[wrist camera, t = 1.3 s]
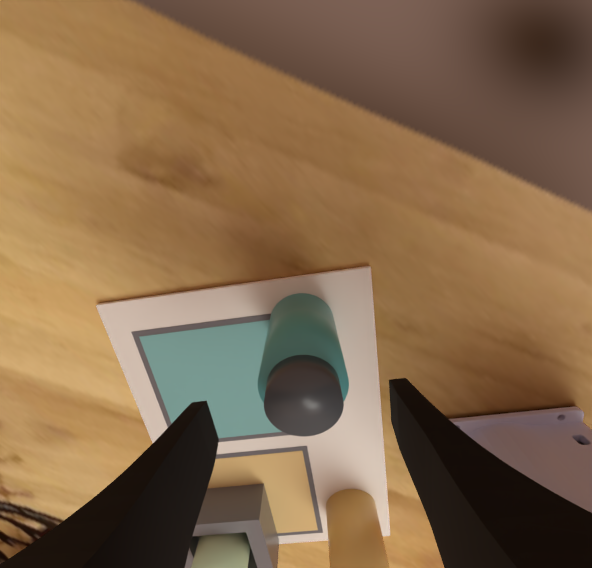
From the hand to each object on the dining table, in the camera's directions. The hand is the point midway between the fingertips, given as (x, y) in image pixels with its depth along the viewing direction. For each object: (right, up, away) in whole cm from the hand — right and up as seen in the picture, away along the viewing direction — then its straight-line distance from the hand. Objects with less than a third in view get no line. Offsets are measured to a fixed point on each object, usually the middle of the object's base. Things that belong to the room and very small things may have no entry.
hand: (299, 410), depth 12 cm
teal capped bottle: (0, +3, +7) cm, 8 cm away
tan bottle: (+4, -13, +13) cm, 19 cm away
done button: (-6, -15, +12) cm, 20 cm away
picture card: (-2, -6, +11) cm, 13 cm away
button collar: (-6, -14, +14) cm, 21 cm away
